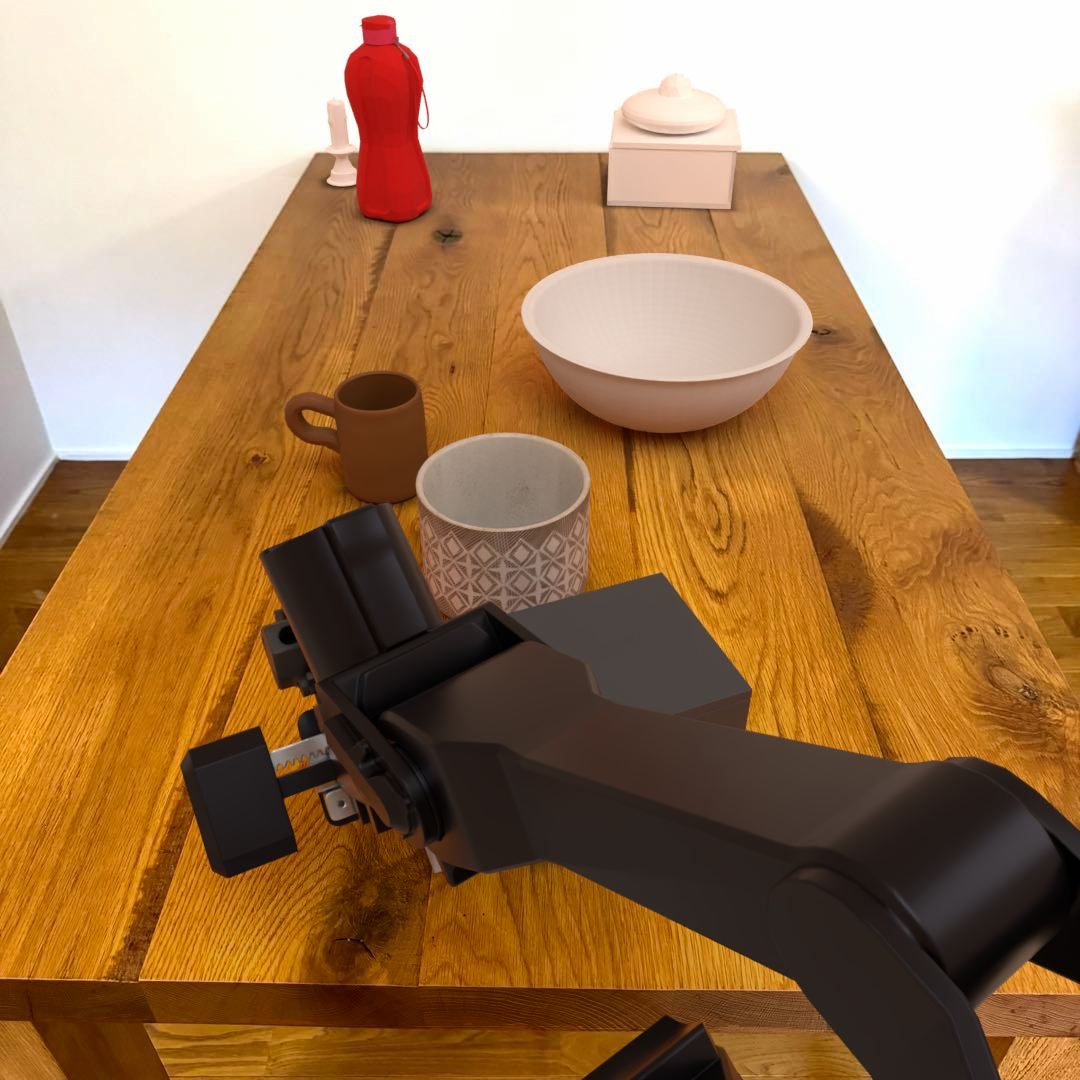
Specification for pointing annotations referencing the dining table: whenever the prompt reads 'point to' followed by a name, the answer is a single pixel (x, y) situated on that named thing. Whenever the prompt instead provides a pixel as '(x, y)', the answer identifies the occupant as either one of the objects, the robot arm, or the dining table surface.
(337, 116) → the candle
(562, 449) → the planter
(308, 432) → the mug
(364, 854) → the dining table surface
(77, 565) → the dining table surface
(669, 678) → the dark grey cabinet
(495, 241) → the dining table surface
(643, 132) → the pink lidded box
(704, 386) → the bowl
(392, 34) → the water bottle
